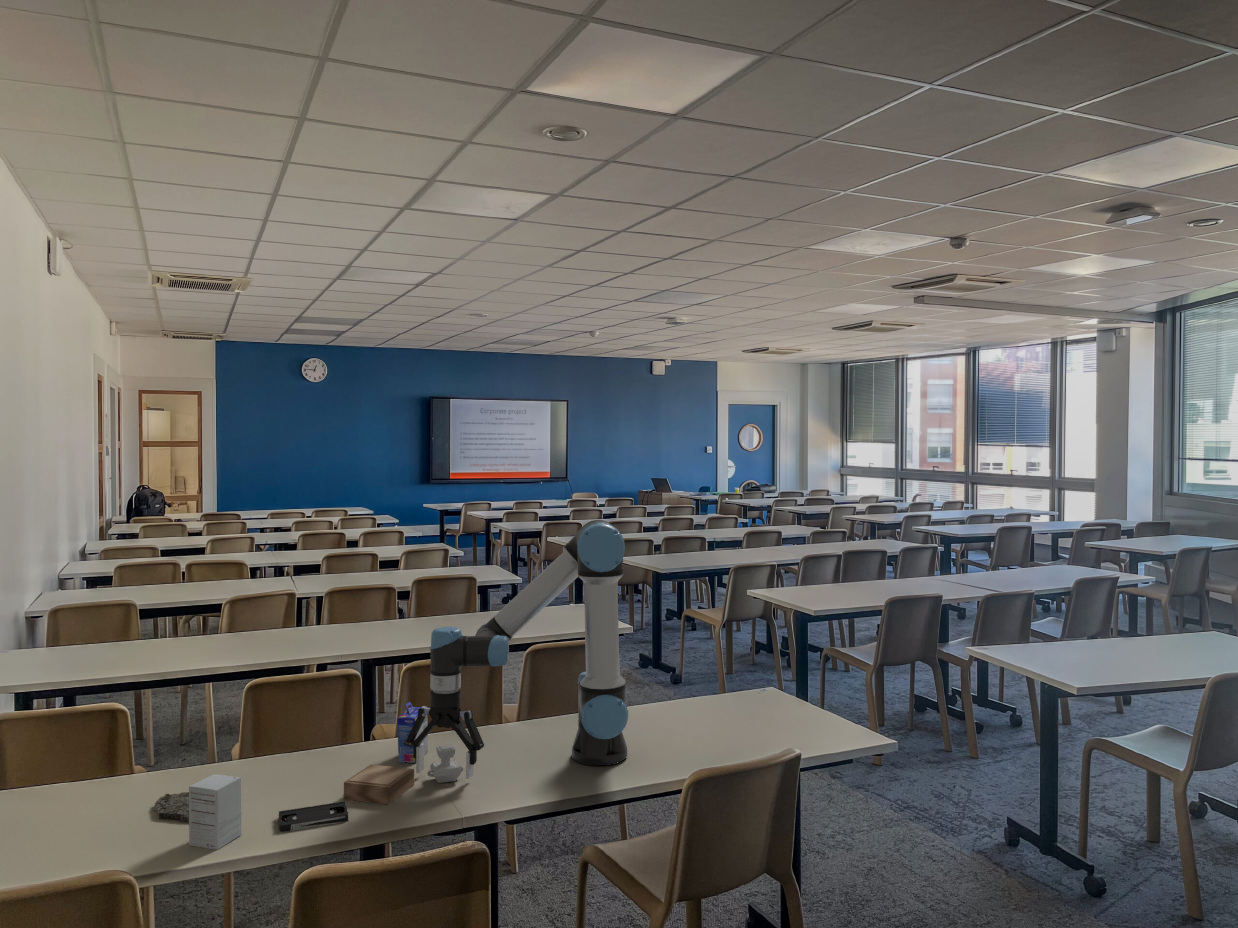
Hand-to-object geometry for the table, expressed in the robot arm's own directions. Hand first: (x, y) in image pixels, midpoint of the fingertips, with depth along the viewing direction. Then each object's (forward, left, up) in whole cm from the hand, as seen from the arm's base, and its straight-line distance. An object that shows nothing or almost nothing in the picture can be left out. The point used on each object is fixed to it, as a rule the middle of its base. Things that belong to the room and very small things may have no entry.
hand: (444, 773), depth 211 cm
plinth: (+12, +11, -2) cm, 16 cm away
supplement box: (+32, +43, -2) cm, 53 cm away
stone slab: (+50, +32, -2) cm, 59 cm away
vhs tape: (+18, +29, -2) cm, 34 cm away
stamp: (0, 0, -2) cm, 2 cm away
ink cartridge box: (+16, -13, -2) cm, 21 cm away
